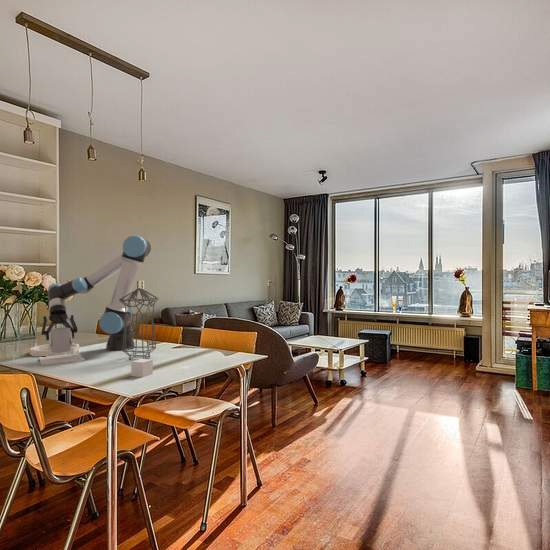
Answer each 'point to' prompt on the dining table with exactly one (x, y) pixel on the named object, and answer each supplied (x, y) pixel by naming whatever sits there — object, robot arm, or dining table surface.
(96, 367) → the dining table surface
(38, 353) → the white plate
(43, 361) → the mat
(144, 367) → the pale pink cube
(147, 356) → the geometric lantern
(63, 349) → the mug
